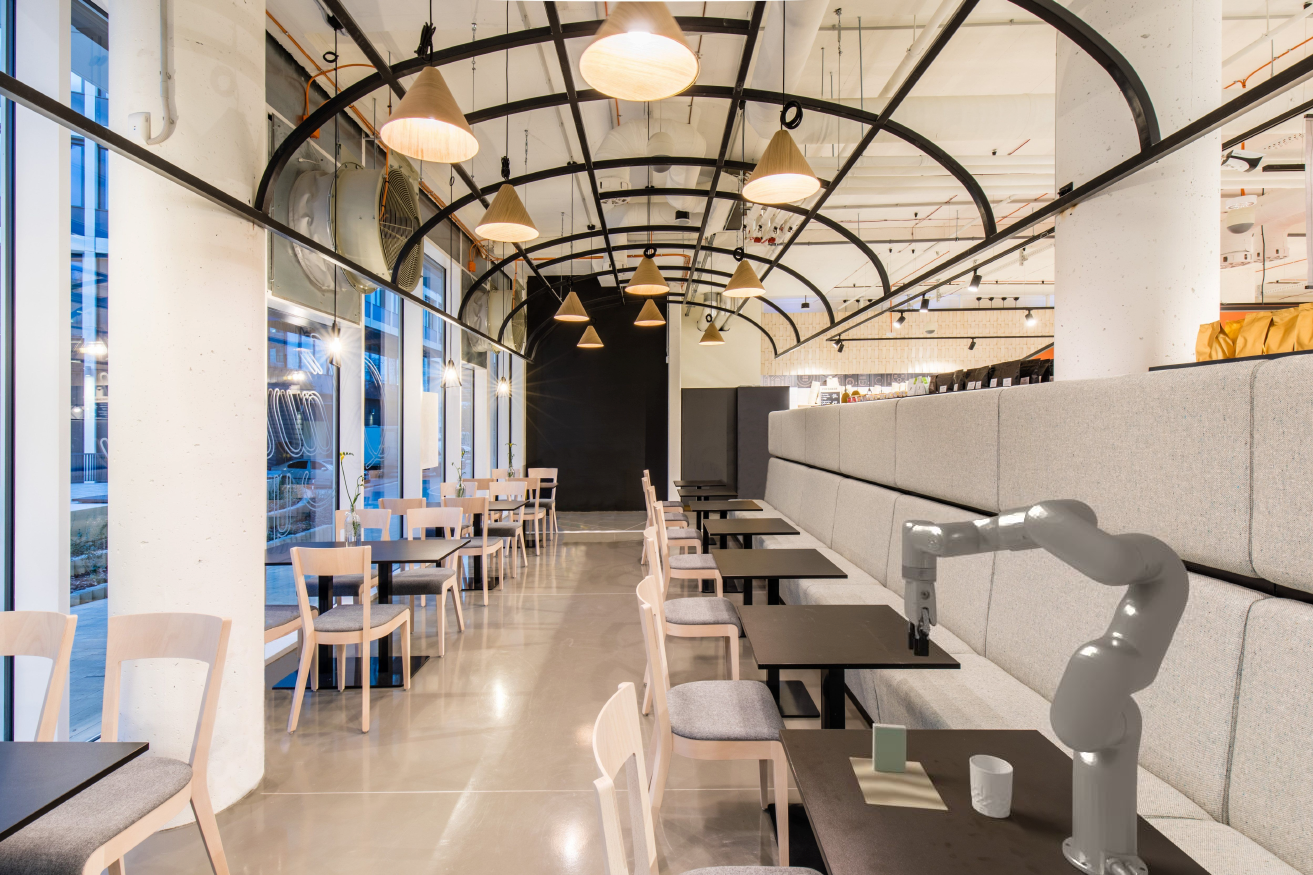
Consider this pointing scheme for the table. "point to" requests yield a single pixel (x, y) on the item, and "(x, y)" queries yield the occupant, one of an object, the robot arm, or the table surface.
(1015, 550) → the robot arm
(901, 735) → the tile
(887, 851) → the table surface
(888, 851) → the table surface
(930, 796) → the board
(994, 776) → the white cup
